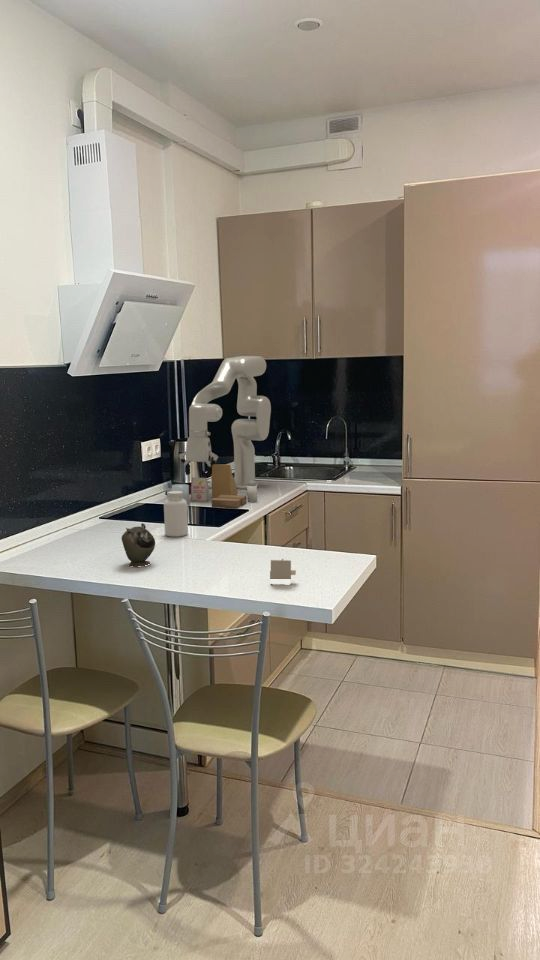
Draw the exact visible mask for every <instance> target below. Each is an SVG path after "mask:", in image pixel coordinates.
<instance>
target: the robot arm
mask: <svg viewBox="0 0 540 960" xmlns="http://www.w3.org/2000/svg"><path fill="white" fill-rule="evenodd" d="M266 369H267V362H266V360H265V358H264V357H263V356H261V355H260V356H259V355H258V356H257V355H255V356H254V355H251V356H250V355H249V356H247V355H246V356H245V355H243V356H240V355H239V356H234V357H227V358H225V359H223V360H222V362H221V364H220V366H219V368H218V370H217V372H216V374H215V376H214V378H213V380H212V381H211V383H208V385H206V386H205V387H203V388H202V389H201V390H200V391H199V392H198V393H197V394H196V395H195V396H194V397H193V400H192V402H191V403H190V404H191V405H190V406H189V408H188V409H189V410H188V429H189V430H188V432H189V433H188V434H189V436H188V437H187V440H186V441H187V442H186V450H185V451H184V452H181V453H180V454H178V457H179V460H180V461H181V463H183V466H184V473H185V475H186V476H189V475H190V474H191V465H190V463H191V462H196V463H197V462H198V463H206V464H207V466H206V475H207V477H210V476H211V474H212V466H213V465H214V464H217V460H218V458H219V456H218V455H217V454H215V453H214V452H212V445H211V440H210V437H209V436H211V432H210V431H209V430H208V422H210V423H211V422H213V423H214V422H218V421H219V420H220V419H221V418H222V416H223V408H221V406H220V405H219V404H216V403H209V402H211V401H212V400H215V399H218V398H220V397H223V396H225V395H228V394H229V393H230V391H231V389H232V388H233V385H234V384H235V380H237V384H238V385H237V386H238V390H237V391H238V393H237V402H236V410H237V411H236V412H237V413H238V414H239V415H240V416H242V417H243V416H244V417H256V418H255V419H252V418H238V419H235V420H234V421H233V422H232V424H231V434H232V435H231V436H232V441H233V455H234V456H233V464H234V466H233V467H234V469H233V470H234V475H233V476H234V481H235V485H236V488H237V490H238V489H242V490H244V489H245V490H247V484H248V482H249V481H255V482H256V474H255V473H256V469H255V466H256V465H255V464H256V459H255V453H256V451H255V446H254V444H253V442H252V441H260V442H261V441H264V440H266V439H267V438H268V436H269V433H270V424H271V423H270V422H271V413H272V406H271V401H270V399H269V398H268V397H267V396H264V395H257V394H258V393H257V389H258V388H257V387H258V385H257V381H256V379H255V378H254V377H259V376H262V375H263V374H265V372H266ZM212 458H213V459H212ZM256 484H257V488H259V483H257V482H256Z"/></svg>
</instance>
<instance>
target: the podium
mask: <svg viewBox="0 0 540 960" xmlns="http://www.w3.org/2000/svg"><path fill="white" fill-rule="evenodd" d="M247 502H248V500H247V495H243V494H242V495H241V494H240V495H239V494H236V495H223V494H222V495H220V496H218V497H216V498H212V499H211V508H222V509H223V508H224V509H236V508H237V509H239V508H240V506H241V507H242V506H244V505H245V504H247Z"/></svg>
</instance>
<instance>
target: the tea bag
mask: <svg viewBox="0 0 540 960" xmlns="http://www.w3.org/2000/svg"><path fill="white" fill-rule="evenodd" d="M209 488H210V486H209V481H208V478H207V477H194V476H193V477H192V476H191V483H190V502H197V503H199V502H200V503H208V501H210V489H209Z"/></svg>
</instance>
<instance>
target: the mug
mask: <svg viewBox="0 0 540 960" xmlns="http://www.w3.org/2000/svg"><path fill="white" fill-rule="evenodd" d="M170 491H182V492H183V498H182V499H184V500H185V501H186V502H187V506H189V505H190V486H189V484H186V483H175V484H172V485H171V488H166V495H167V493H168V492H170ZM167 497H168V495H167V496H166V500H168V498H167Z"/></svg>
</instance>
